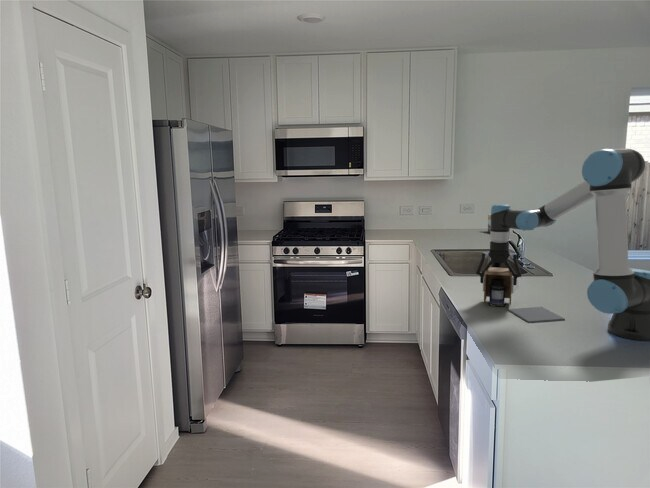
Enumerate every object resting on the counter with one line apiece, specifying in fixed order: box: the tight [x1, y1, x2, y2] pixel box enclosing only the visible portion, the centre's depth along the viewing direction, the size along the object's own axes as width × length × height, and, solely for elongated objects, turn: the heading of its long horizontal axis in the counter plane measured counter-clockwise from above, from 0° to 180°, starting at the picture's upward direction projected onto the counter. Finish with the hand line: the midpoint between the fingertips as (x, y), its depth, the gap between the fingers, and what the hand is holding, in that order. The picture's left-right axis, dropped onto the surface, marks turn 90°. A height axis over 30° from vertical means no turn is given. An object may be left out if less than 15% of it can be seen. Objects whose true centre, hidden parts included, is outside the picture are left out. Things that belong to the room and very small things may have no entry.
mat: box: [507, 306, 566, 324], centre depth 182 cm, size 15×15×1 cm
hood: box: [483, 266, 513, 306], centre depth 195 cm, size 11×11×13 cm
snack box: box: [487, 213, 491, 233], centre depth 381 cm, size 21×6×15 cm, turn 17°
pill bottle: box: [488, 278, 506, 307], centre depth 196 cm, size 6×6×11 cm
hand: (497, 291), depth 196 cm, fingers closed on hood, 11 cm apart
